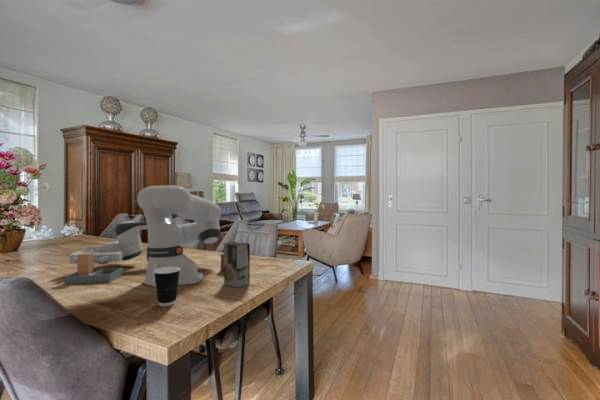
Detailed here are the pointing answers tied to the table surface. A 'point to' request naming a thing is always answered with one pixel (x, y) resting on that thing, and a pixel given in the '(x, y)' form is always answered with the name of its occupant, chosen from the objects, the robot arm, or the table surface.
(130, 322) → the table surface
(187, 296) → the table surface
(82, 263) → the block
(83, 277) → the organiser
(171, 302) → the dixie cup
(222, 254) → the lighter
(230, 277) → the coffee box
